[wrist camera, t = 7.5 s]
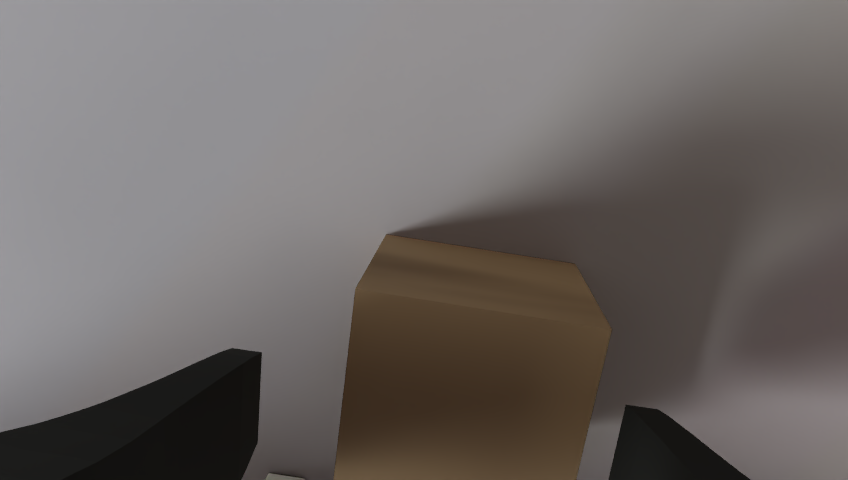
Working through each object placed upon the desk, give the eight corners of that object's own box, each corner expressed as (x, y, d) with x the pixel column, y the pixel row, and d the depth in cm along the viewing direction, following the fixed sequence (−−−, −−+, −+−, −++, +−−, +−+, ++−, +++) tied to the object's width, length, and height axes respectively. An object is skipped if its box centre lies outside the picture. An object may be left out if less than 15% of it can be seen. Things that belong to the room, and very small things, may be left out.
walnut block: (538, 428, 15) (560, 544, 12) (365, 399, 16) (330, 504, 12) (574, 262, 14) (611, 329, 10) (386, 233, 14) (355, 288, 11)
